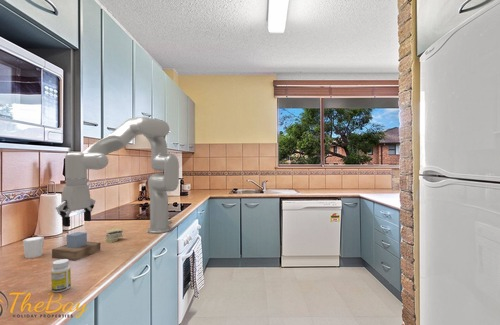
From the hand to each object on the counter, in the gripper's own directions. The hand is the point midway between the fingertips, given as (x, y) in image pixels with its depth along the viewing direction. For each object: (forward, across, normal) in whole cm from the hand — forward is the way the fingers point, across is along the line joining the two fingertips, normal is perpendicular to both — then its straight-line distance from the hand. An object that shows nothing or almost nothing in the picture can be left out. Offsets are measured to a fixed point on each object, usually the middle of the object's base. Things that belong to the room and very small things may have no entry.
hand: (77, 223), depth 112 cm
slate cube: (+9, 0, 0) cm, 9 cm away
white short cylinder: (+13, +6, -16) cm, 22 cm away
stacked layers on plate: (+14, -20, 0) cm, 24 cm away
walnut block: (+13, 0, 0) cm, 13 cm away
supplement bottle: (+13, +25, +23) cm, 36 cm away
